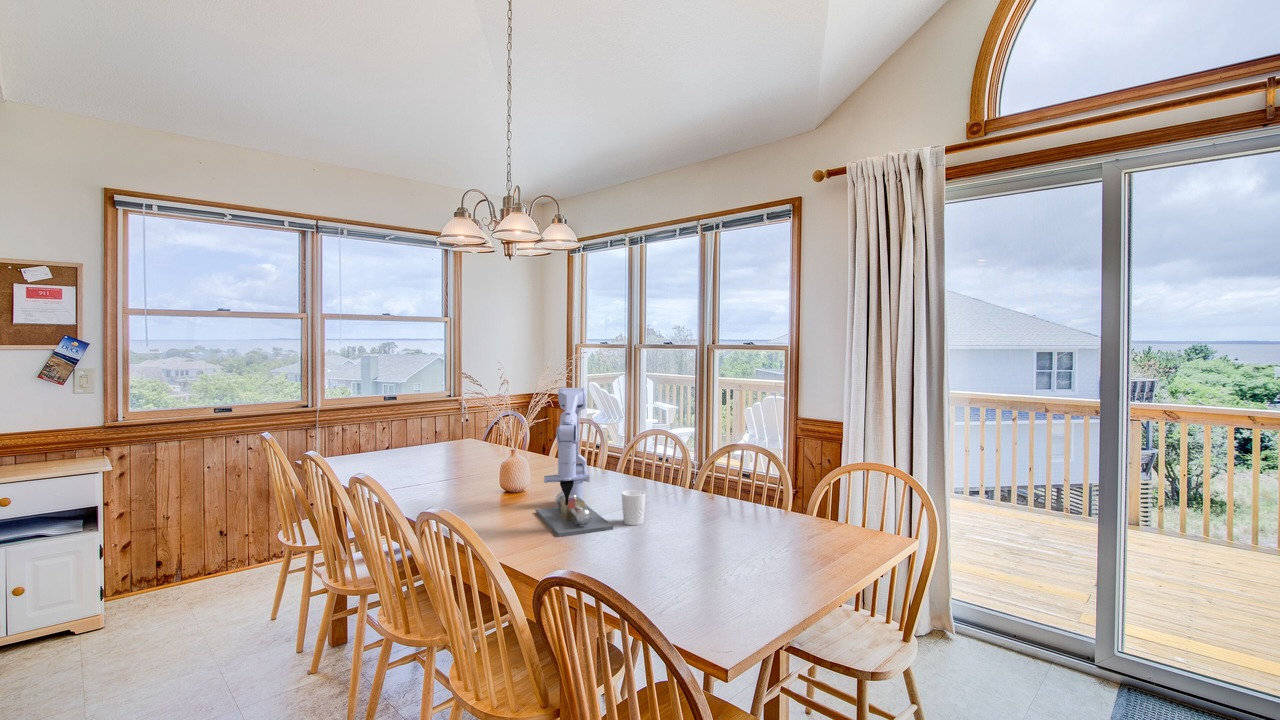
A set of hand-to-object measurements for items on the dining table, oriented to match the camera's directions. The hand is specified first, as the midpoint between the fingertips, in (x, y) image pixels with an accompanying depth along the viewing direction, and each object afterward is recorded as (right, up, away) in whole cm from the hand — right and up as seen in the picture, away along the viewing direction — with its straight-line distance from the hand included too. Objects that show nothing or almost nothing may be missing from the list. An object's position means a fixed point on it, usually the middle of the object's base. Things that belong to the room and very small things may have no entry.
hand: (566, 504), depth 186 cm
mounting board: (+1, -8, +8) cm, 11 cm away
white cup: (+21, -8, +6) cm, 24 cm away
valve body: (+1, -6, +8) cm, 10 cm away
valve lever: (+1, -1, +3) cm, 4 cm away
